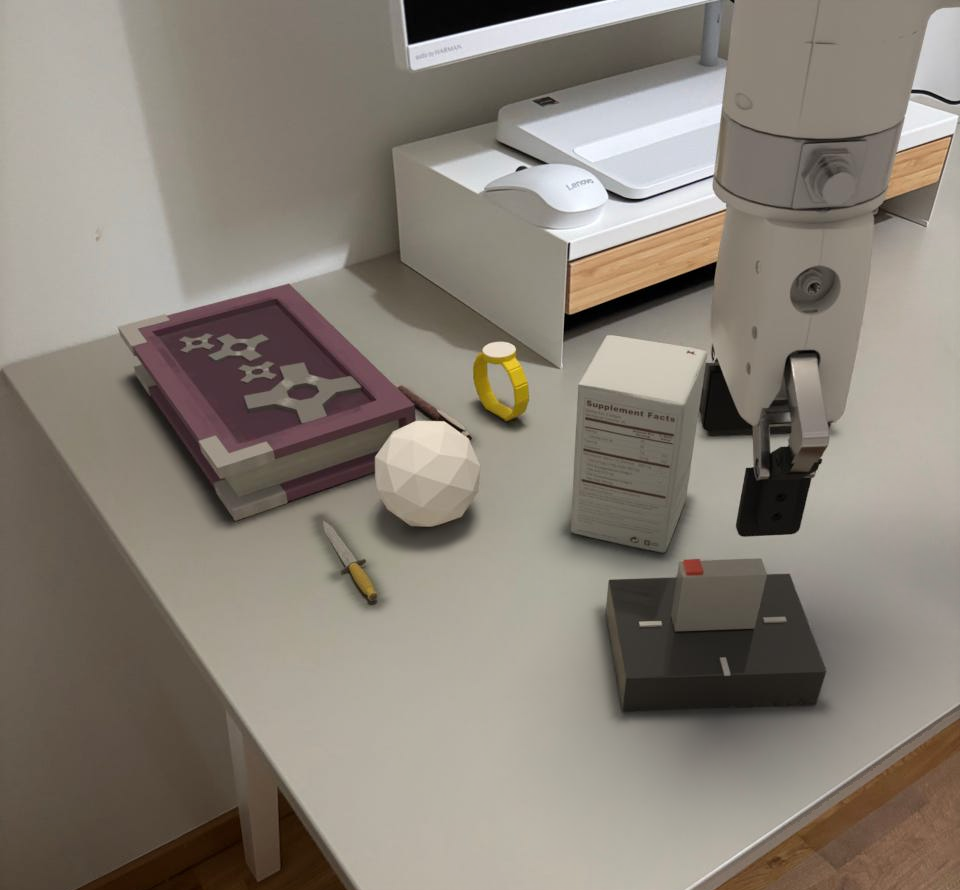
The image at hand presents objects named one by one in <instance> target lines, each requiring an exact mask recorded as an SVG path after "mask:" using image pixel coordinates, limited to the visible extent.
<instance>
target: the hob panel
mask: <svg viewBox="0 0 960 890" xmlns="http://www.w3.org/2000/svg"><path fill="white" fill-rule="evenodd" d="M792 578H793V577H792V576H791V573H767V577H766V582H765V586H764V590H763V595H762V599H761V603H760V607H759V612H758V616H757V620H756V625H755V628H754V629H730V630H704V631H677V632H676V631H675V630H674V626H673V621H672V617H671V613H672V606H673V600H674V593H675V586H676V580H677V576H676V577H674V576H673V577H649V578H647V577H645V578H619V579H617V578H616V579H615V578H614V579H608V582H607V593H606V602H605V603H606V604H605V606H606V607H605V617H606V623H607V628H608V635H609V641H610V646H611V650H612V651H611V652H612V657H613V663H614V669H615V675H616V683H617V687H618V692H619V693H618V694H619V699H620V705H621V710H622V711H623V712H635V711H637V712H638V711H660V710H661V711H663V710H664V711H665V710H666V711H667V710H687V709H688V710H691V709H695V710H696V709H720V708H721V709H723V708H745V707H746V708H750V707H751V708H752V707H754V708H755V707H781V706H782V707H783V706H808V705H810V706H811V705H817V703H818V700H819V696H820V693H821V690H822V688H823V685H824V680H825V678H826V675H827V669H826V666H825V664H824V660H823V657H822V655H821V652H820V650H819V648H818V645H817V642H816V639H815V637H814V634H813V632H812V628H811V626H810V624H809V620H808V619H807V616H806V613H805V610H804V608H803V605H802V602H801V600H800V597H799V594H798V591H797V589H796V587H795V586H796V585H795V584H794V581H793V579H792Z"/></svg>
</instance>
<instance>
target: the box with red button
mask: <svg viewBox="0 0 960 890" xmlns="http://www.w3.org/2000/svg"><path fill="white" fill-rule="evenodd" d="M767 574H768V573H767V569H766V567H765V564H764V562H763V558H733V559H732V558H731V559H707V560H701V558H689V559H687V558H685V559H684V558H683V560H681V561H679V562H678V568H677V574H676V577H677V580H676V586H675V593H674V600H673V606H672V613H671V617H672V621H673V626H674V630H675V631H676V632H677V631H704V630H730V629H754V628H755V625H756V620H757V616H758V612H759V607H760V603H761V599H762V595H763V590H764V586H765V582H766V577H767Z"/></svg>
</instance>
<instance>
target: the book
mask: <svg viewBox="0 0 960 890" xmlns="http://www.w3.org/2000/svg"><path fill="white" fill-rule="evenodd" d="M117 329H118V333H119V336H120V338H121V339H122V342H123V343H124V344H125V345H126V347H127V348H128V349H129V351H130V353H131V354H132V355H133V357H136V358H137V360H138V361H139V362H140V364H138V365H135V366H133V369H134V373H135V377H136V378H137V379H138V382H139V383H140V384H141V385H142V387H143V388H144V390H145V391H146V392H147V394H148V396H149V397H151V398H152V399H153V401H154V402H155V404H156V405H157V407H158V408H159V409H160V411H161V412H162V414H163V415H164V417H165V418H166V420H167V421H168V423H169V424H170V426H171V428H173V430H174V431H175V433H176V435H177V436H178V437H179V439H180V440H181V442H182V444H183V445H184V446H185V447H186V449H187V451H188V452H189V453H190V456H192V458H193V459H194V461H195V462H196V464H197V465H198V466H199V468H200V469H201V471H202V472H203V474H204V475H205V477H206V478H207V480H208V481H209V482H210V484H211V486H212V487H213V489H214V490H215V493H216V495H217V496H218V498H219V500H220V501H221V502H222V504H223V506H224V507H225V509H226V510H227V511H228V513H229V514H230V516H231V518H233V520H234V521H235V522H236V521H240V520H242V519H245V518H248V517H251V516H254V515H256V514H260V513H263V512H266V511H269V510H271V509H274V508H275V509H276V508H277V507H281V506H284V505H286V504H288V502H291V501H295V500H297V499H300V498H303V497H306V496H309V495H311V494H315V493H317V492H320V491H323V490H327V489H329V488H332V487H335V486H338V485H341V484H344V483H347V482H349V481H352V480H356V479H359V478H361V477H364V476H367V475H370V474H373V473H375V456H376V455H377V454H378V452H379V451H380V449H381V448H382V447H383V445H384V444H385V442H386V441H387V439H388V438H389V437H390V435H391V434H392V432H393V431H396V430H398V429H400V428H402V427H404V426H406V425H408V424H411V423H413V422H415V421H417V417H416V405H415V404H414V403H413V402H411V401H410V400H409V399H408V398H407V397H406V396H405V395H404V394H403V393H402V392H401V391H400V390H399V389H398V388H397V387H396V386H395V385H394V384H395V383H394V384H393V382H392V381H391V380H390V379H388V378H387V376H386V375H384V374H383V373H382V372H381V371H380V370H379V369H378V367H376V366H375V364H373V363H372V362H371V361H370V360H369V359H368V358H367V357H366V356H365V355H364V354H363V353H362V352H361V351H359V349H358V348H357V347H355V346H354V344H352V342H351V341H349V340H348V339H347V338H346V337H345V336H344V335H343V334H342V333H341V332H340V331H339V330H338V329H337V328H336V327H335V326H334V325H333V324H331V322H330V321H328V319H326V317H324V316H323V315H322V314H321V312H319V311H318V310H317V309H316V308H315V307H314V306H313V305H312V304H311V303H310V302H309V301H308V300H307V299H306V298H305V297H304V296H303V295H301V294H300V293H299V291H297V289H296V288H294V287H293V285H291V284H290V283H286V284H282V285H278V286H275V287H270V288H266V289H263V290H258V291H256V292H251V293H247V294H243V295H240V296H236V297H232V298H228V299H224V300H221V301H217V302H214V303H210V304H206V305H201V306H198V307H194V308H190V309H187V310H183V311H178V312H175V313H171V314H168V315H166V313H164V314H160V315H157V316H152V317H148V318H145V319H141V320H137V321H133V322H130V323H126V324H122V325H118V326H117Z"/></svg>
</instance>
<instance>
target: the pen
mask: <svg viewBox="0 0 960 890" xmlns="http://www.w3.org/2000/svg"><path fill="white" fill-rule="evenodd" d="M394 385H395V386H396V387H397V388H398V389H399V390H400V391H401V392H402V393H403V394H404V395H405V396H406V397H407V398H408V399H409V400H410V401H411V402H412V403H413V404H414V405H415V406H417V407H418V408H419V409H421V410H422V412H425V413H426V414H427V415H429V416H430V417H432V418H433V419H434V420H435V421H444V422H446V423H447V424H449V425H450V426H451V427H453V428H454V429H456V430H457V431H459V432H460V433H461V434H463V435H464V436H466V437H467V438H468V439H469V441H471V440H472V439H473V437H472V436H471V435H470V434H471V433H469V431H468V430H467V429H466V427H465V426H464V425H462V424H461V423H460V422H459V421H458V420H456V419H455V418H454V417H452V416H450V415H449V414H447V413H446V412H445V411H443V410H440V409H438V408H436V407H434V406H433V405H431V404H430V403H429V402H427V401H425V399H423V398H421V397H420V396H418V395H417V394H415V393H414V392H412V391H411V390H409V389H408V388H407V387H405V386H404V385H401V384H397V383H394Z"/></svg>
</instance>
